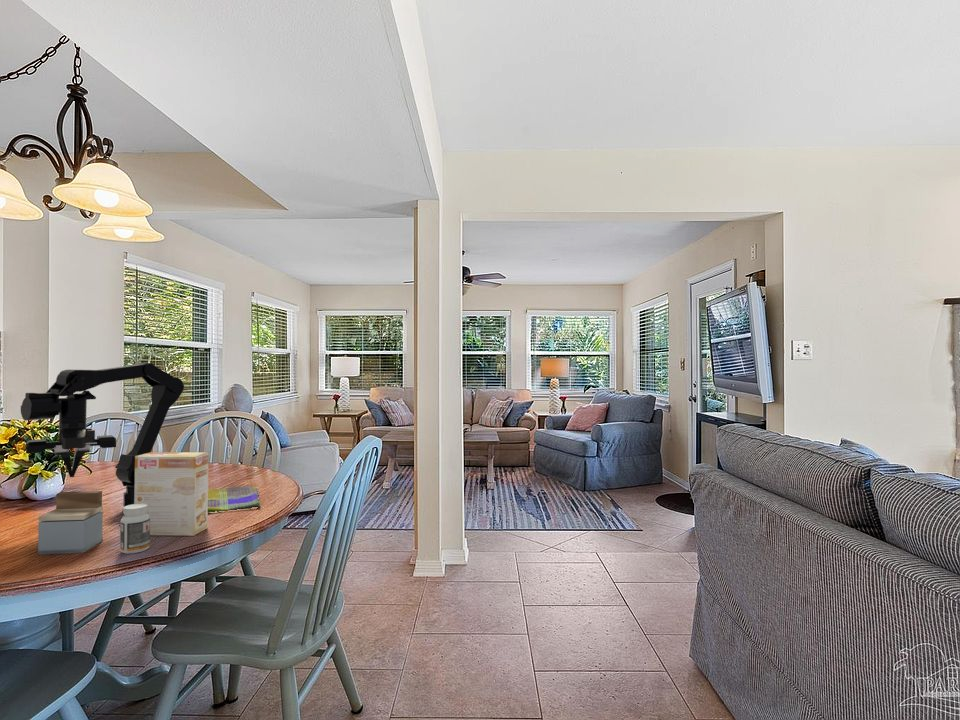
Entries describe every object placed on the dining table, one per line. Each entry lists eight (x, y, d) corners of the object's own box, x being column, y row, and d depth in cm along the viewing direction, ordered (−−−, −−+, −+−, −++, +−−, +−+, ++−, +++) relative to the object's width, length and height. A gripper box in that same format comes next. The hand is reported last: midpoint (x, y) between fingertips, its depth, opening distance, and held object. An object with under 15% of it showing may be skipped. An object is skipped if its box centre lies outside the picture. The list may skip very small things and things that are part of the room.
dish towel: (192, 517, 150) (193, 507, 150) (199, 497, 172) (199, 488, 172) (261, 511, 157) (261, 501, 157) (258, 492, 179) (258, 484, 180)
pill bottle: (155, 545, 125) (155, 502, 125) (140, 554, 119) (141, 509, 120) (129, 545, 125) (130, 502, 125) (113, 554, 119) (114, 509, 119)
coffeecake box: (208, 527, 139) (209, 451, 139) (193, 536, 132) (195, 456, 132) (150, 527, 139) (151, 451, 139) (132, 536, 132) (133, 455, 132)
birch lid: (60, 511, 127) (60, 492, 127) (102, 510, 128) (103, 490, 128) (38, 521, 119) (38, 500, 119) (83, 519, 120) (84, 499, 120)
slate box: (59, 542, 127) (60, 512, 127) (102, 540, 128) (102, 511, 128) (37, 554, 119) (38, 522, 119) (83, 552, 120) (84, 520, 120)
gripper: (26, 422, 130) (25, 487, 130) (119, 418, 142) (118, 477, 142) (26, 418, 139) (25, 479, 139) (114, 414, 151) (113, 470, 150)
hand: (71, 476), depth 142 cm, fingers closed
